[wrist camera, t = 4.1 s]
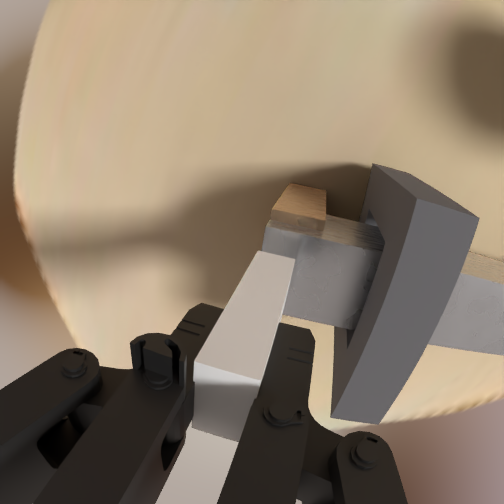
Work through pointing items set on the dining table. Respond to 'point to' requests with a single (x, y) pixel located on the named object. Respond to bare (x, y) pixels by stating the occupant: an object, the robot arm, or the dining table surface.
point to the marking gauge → (371, 274)
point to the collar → (399, 291)
